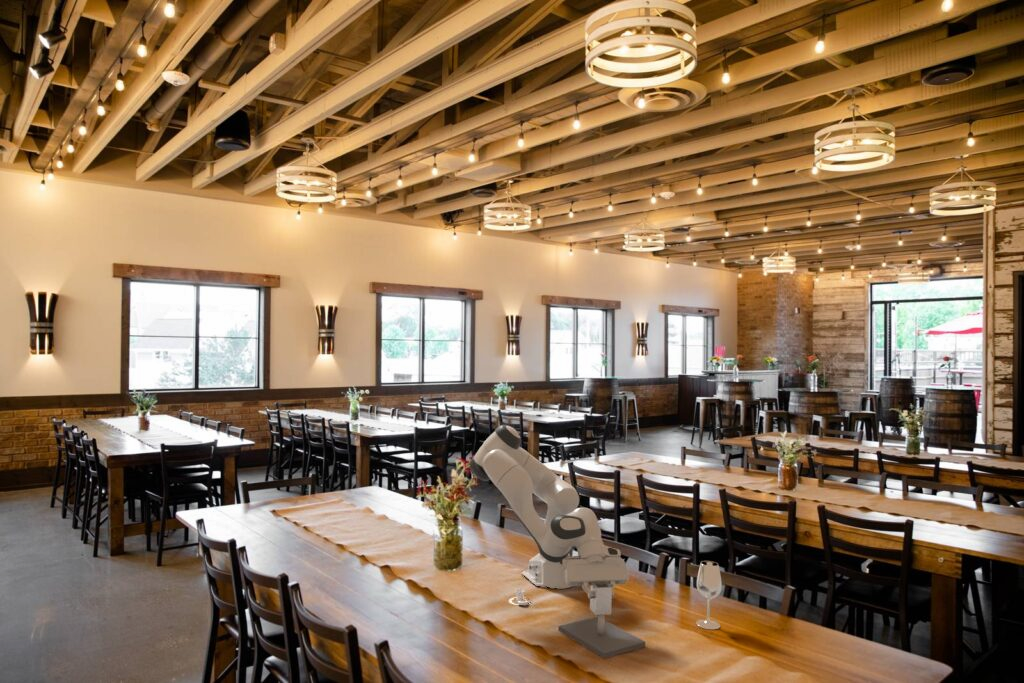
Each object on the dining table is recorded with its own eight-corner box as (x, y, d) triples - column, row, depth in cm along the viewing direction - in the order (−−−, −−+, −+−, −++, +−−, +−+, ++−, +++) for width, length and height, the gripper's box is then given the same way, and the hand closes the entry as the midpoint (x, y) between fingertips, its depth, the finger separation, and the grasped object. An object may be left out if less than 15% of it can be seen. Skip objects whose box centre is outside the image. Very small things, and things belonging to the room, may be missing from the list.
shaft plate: (558, 630, 210) (559, 599, 210) (597, 621, 219) (598, 591, 219) (604, 658, 192) (605, 624, 192) (645, 646, 200) (646, 614, 201)
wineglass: (703, 630, 214) (705, 567, 214) (691, 621, 221) (692, 560, 222) (725, 628, 216) (726, 566, 216) (711, 619, 223) (713, 559, 224)
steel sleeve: (589, 608, 207) (590, 582, 207) (604, 608, 208) (606, 582, 209) (595, 614, 202) (596, 588, 203) (611, 614, 203) (612, 587, 204)
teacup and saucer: (528, 608, 229) (529, 596, 229) (505, 606, 230) (506, 594, 231) (533, 599, 237) (533, 588, 237) (511, 597, 239) (511, 586, 239)
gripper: (563, 551, 210) (571, 594, 201) (624, 550, 215) (635, 591, 205) (558, 561, 215) (566, 603, 205) (619, 559, 219) (629, 600, 209)
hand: (601, 597), depth 205 cm, fingers closed on steel sleeve, 5 cm apart
